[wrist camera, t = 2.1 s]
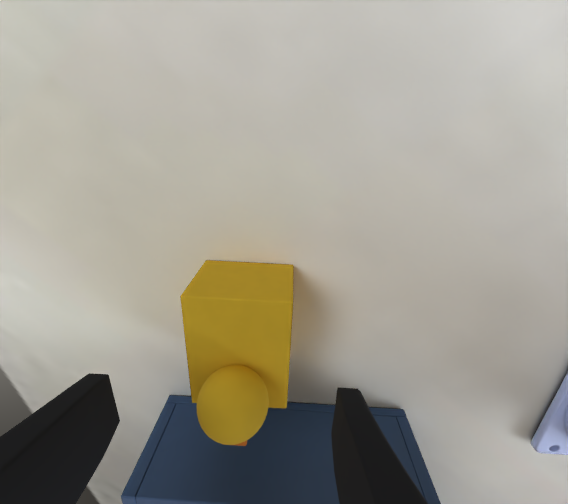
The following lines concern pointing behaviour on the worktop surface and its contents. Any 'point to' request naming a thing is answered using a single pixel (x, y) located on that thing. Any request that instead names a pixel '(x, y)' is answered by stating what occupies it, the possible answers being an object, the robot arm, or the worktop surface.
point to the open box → (257, 459)
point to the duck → (238, 345)
